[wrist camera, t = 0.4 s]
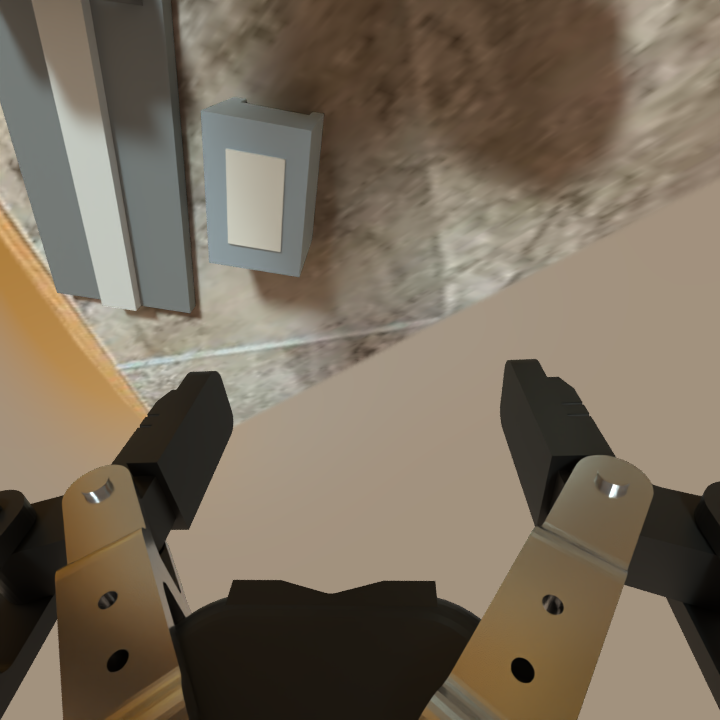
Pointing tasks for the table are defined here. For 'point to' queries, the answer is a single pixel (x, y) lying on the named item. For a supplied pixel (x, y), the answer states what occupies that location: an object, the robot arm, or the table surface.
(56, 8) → the rail mount
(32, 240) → the table surface
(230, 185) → the rail module
